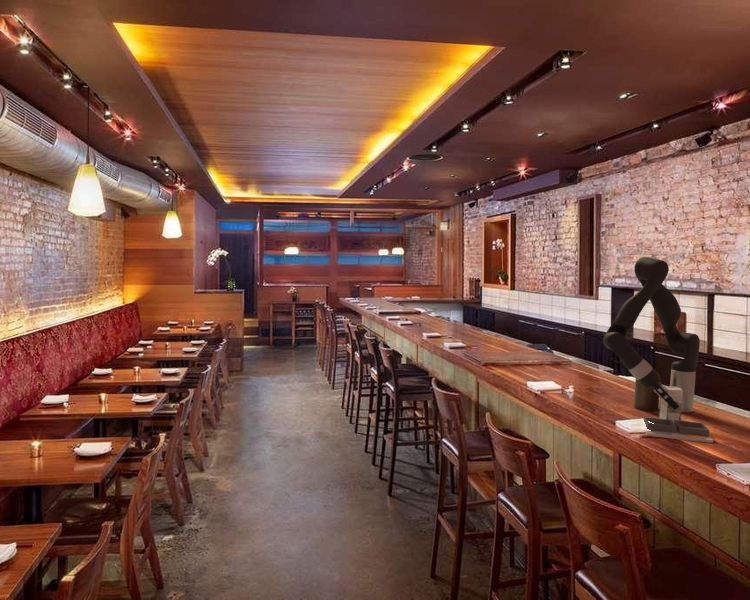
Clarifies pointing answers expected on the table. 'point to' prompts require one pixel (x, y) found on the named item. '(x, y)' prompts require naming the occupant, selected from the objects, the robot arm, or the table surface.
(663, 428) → the socket board
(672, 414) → the syrup box
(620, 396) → the table surface
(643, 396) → the pillar candle
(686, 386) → the robot arm
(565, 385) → the table surface
